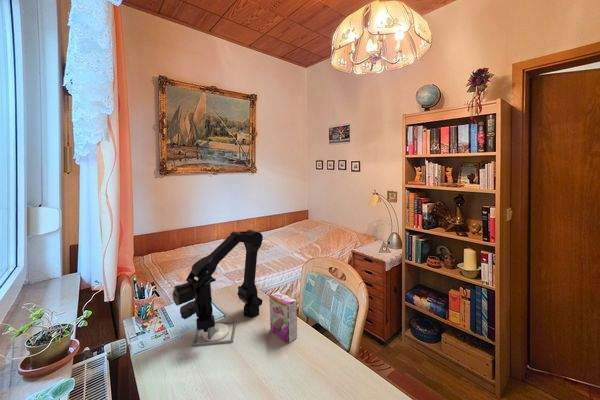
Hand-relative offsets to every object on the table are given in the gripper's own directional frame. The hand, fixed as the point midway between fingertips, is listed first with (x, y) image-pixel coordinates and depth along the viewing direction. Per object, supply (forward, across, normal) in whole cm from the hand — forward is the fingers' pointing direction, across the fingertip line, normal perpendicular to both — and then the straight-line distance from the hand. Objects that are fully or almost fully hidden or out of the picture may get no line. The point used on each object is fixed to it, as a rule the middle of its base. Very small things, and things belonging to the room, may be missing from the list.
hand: (205, 331), depth 104 cm
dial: (+2, -1, +4) cm, 4 cm away
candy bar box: (+4, +9, +29) cm, 31 cm away
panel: (+4, -1, +4) cm, 5 cm away
